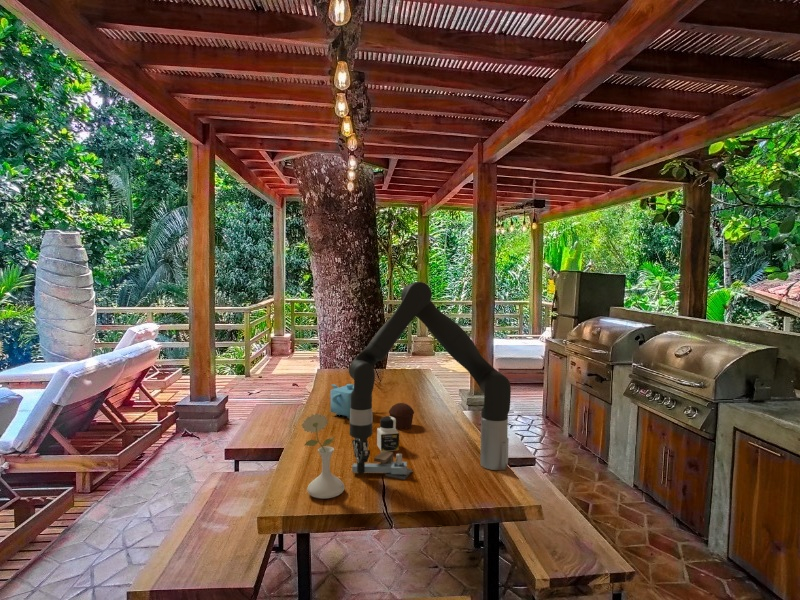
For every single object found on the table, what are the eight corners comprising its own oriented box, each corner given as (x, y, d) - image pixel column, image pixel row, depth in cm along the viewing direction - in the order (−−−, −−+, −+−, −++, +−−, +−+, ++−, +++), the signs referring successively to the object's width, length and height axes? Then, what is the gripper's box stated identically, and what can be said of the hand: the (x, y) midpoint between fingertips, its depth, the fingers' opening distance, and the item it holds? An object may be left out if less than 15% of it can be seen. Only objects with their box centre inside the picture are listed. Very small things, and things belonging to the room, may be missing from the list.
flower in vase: (346, 484, 148) (346, 407, 147) (343, 502, 137) (343, 419, 135) (305, 485, 148) (304, 408, 146) (298, 502, 136) (298, 419, 135)
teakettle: (330, 421, 212) (330, 389, 211) (330, 409, 231) (330, 380, 230) (371, 419, 215) (371, 388, 214) (368, 408, 233) (368, 379, 233)
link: (406, 468, 159) (406, 461, 159) (406, 474, 154) (406, 468, 154) (353, 467, 159) (353, 461, 159) (352, 474, 154) (352, 467, 154)
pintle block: (412, 471, 158) (412, 452, 158) (404, 480, 152) (404, 459, 151) (393, 468, 161) (393, 449, 161) (385, 476, 155) (385, 456, 154)
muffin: (384, 424, 208) (384, 402, 208) (406, 420, 214) (406, 399, 213) (396, 432, 198) (396, 409, 197) (418, 428, 203) (419, 405, 202)
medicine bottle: (381, 452, 175) (381, 421, 175) (376, 445, 182) (377, 415, 182) (399, 450, 177) (399, 419, 177) (394, 444, 184) (394, 414, 184)
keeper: (393, 467, 162) (393, 452, 162) (384, 475, 155) (384, 460, 155) (382, 465, 164) (382, 450, 163) (374, 473, 157) (374, 458, 157)
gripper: (378, 425, 148) (377, 479, 149) (366, 414, 160) (365, 463, 161) (355, 428, 145) (355, 482, 146) (344, 416, 157) (344, 466, 158)
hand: (360, 472), depth 153 cm, fingers closed
